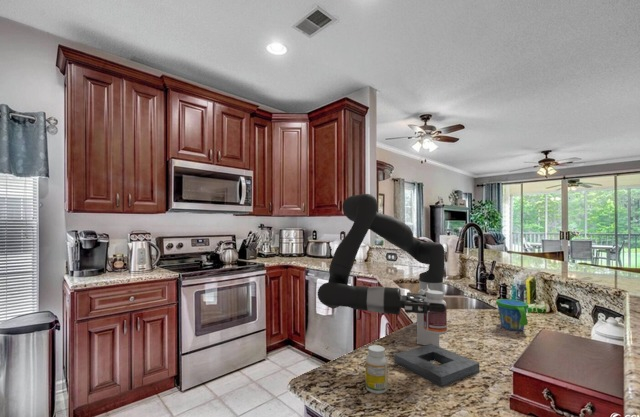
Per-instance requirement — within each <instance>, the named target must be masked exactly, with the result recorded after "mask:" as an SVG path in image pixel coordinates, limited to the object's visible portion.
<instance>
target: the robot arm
mask: <svg viewBox="0 0 640 417" xmlns="http://www.w3.org/2000/svg"><path fill="white" fill-rule="evenodd" d="M378 208H379V205H378V200H377V199H376V197H375V195H373V194H371V193H363V194H362V193H361V194H355V195H351V196H349V197H346V199H344V201H343V203H342V211H343V215H344V216H345V217H346V218H347V219H348V220H349V221H351V222H353V224H352V226H351V228H350V230H349V231H348V232H347V234H346V235H345V237H343V239H342V240H341V241H340V243H339V244H338V246H336V247H337V248H336V250H335V252H334V253H333V256H332V259H331V262H330V264H329V268H328V275H329V278H328V281H327V282H325V283H322V284H321V285H320V286H319V287H318V289H317V299H318V300H319V302H320V303H321V304H322V305H324V306H326V307H328V308H330V309H337V308H338V307H348V308H351V309H353V310H359V311H367V312H373V313H380V314H387V315H388V314H389V315H390V314H391V315H400V314H401V309H404V312H405V313H411V314H412V313H413V314H417V313H424V314H427V312H430V311H433V312H445V305H444V304H441V303H429V302H425V301H424V300H425V299H426V298H427V297H426V295H425V294H424V295H423V294H418V293H410V292H407V293H406V295H405V294H404V295H402V292H401V288H399V287H391V286H390V287H387V286H361V285H350V284H349V277H350V274H351V272H352V269H353V266H354V263H355V260H356V257H357V254H358V252H359V249H360V247H361V246H362V243H363V241H364V239H365V237H366V235H367V234H368V231H369V230H370V231H371V232H373V233H375V234H376V235H378V236H379V237H381V238H382V239H384V240H385V241H387V242H388V243H390V244H392V246H393V245H394V246H396V247H397V248H399V249H400V250H402V251H404V252H406V253H407V254H409V256H411V257H412V258H414V260H416V261H417V262H418V263H421V264H423V265H424V264H425V265H428V269H427V270H426V271H423V272H421V273H419V276H418V286H419V287H418V288H419V290H421V289H423V290H425V289H426V288H427V285H428V288H429V289H430V290H435V291H441V292H443V293H444V276H445V264H446V263H445V262H446V254H445V253H446V252H445V248H444V245H443V244H442V243H440V242H435V241H423V240H420V239H418V238H416V237H414V233H413V230H412V228H411V226H409V225H407V224H406V223H405V222H403V221H402V220H400V219H398V218H397V217H394V216H391V215H388V214H385V213H381V212H378V211H379V210H378ZM419 290H418V291H419ZM422 306H423V307H422Z"/></svg>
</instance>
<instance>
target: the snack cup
mask: <svg viewBox="0 0 640 417" xmlns="http://www.w3.org/2000/svg"><path fill="white" fill-rule="evenodd" d="M495 303H496V306H497V308H498V309H497V310H498V314H499V320H500V325H501V327H502V328H504V329H506V330H510V331H514V332H518V331H523V330H524V329H525V326H527V325H528V324H529V323H528V321H529V320H528V317H527V310H528V308H529V304H528V303H527V302H525V301H522V300H518V299H517V300H516V299H509V298H500V299H496V301H495Z"/></svg>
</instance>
